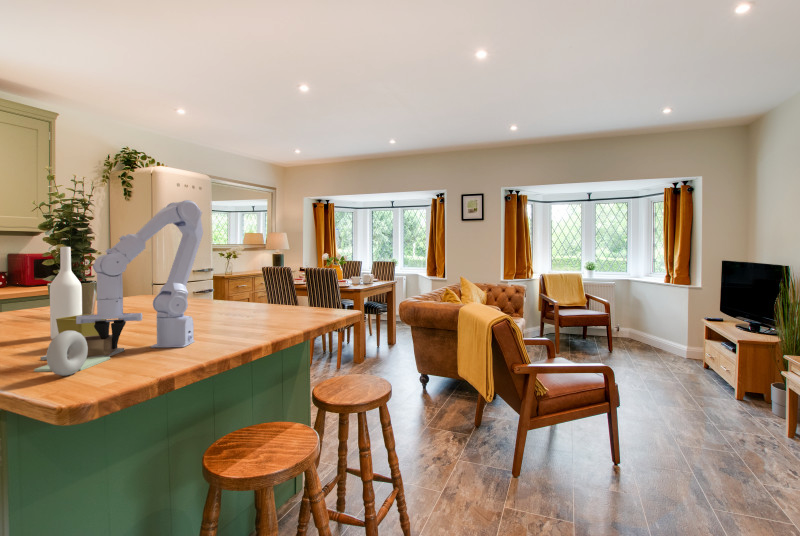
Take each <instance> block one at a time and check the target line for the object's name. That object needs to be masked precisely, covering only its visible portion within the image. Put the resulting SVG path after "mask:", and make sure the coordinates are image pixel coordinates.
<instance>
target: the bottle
mask: <svg viewBox="0 0 800 536" xmlns="http://www.w3.org/2000/svg"><path fill="white" fill-rule="evenodd" d="M71 247H72V246H60V247H59V248H60V250H59V254H60V256H59V258H60V267H59V272H58V273H57V275H56V276H55V278H54V279H53V280H52V281H51V283H50V285H49V315H50V316H49V318H50V321H49V322H50V323H49V324H50V339H51V340H53V338H54V337H56V336H57V335H58V334H59V332H58V327H57V322H56V319H57V318H63V317H71V316H77V315H83V288H82V287H83V286H82V283H81V281H80V280H79V279H78V277H77V276H76V275H75V274H74V272H73V271H72V256H71V255H72V252H71V251H72V250H71V249H72V248H71Z"/></svg>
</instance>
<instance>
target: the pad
mask: <svg viewBox="0 0 800 536" xmlns="http://www.w3.org/2000/svg"><path fill="white" fill-rule="evenodd" d="M108 360H111V356H109V357H86V360H85V362H84V364H83V366H82V367H81V368H80V369H79V370H78V371H77V372H79V371H81V372H82V371H84V370H86V369H88V368H91V367H93V366H96V365H98V364H101V363H104V362H107V361H108ZM33 372H34V373H35V372H36V373H37V372H52V371H51V370H50V368H49V366H48V364H44V365H43V366H39V367H37V368H34V371H33Z"/></svg>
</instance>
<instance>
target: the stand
mask: <svg viewBox="0 0 800 536" xmlns="http://www.w3.org/2000/svg"><path fill="white" fill-rule="evenodd" d="M123 352H125V347H117V349H116V350H115V351H114V352H112V353H111V354H110V355H102V356H89V357H112V356H114V355H117V354H120V353H123ZM46 356H47V354H46V355H43V356H40V358H39V359H40V361H47V358H46ZM68 356H69V348H68V350H67V358H68Z"/></svg>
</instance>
